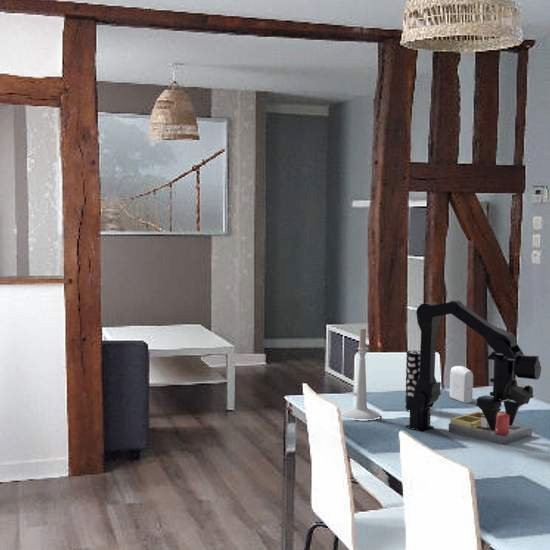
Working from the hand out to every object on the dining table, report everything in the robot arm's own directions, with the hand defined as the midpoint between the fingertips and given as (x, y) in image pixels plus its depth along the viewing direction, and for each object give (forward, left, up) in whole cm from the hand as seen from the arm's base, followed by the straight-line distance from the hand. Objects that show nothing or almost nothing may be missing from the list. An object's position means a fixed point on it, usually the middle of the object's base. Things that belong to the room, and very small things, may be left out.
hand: (501, 427), depth 248 cm
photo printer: (+38, +42, -4) cm, 57 cm away
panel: (+5, +7, -4) cm, 10 cm away
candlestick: (-9, +48, -4) cm, 49 cm away
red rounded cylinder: (0, 0, -2) cm, 2 cm away
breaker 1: (+2, +7, -1) cm, 7 cm away
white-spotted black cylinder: (+13, +42, -4) cm, 44 cm away
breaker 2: (+9, +7, -1) cm, 11 cm away
